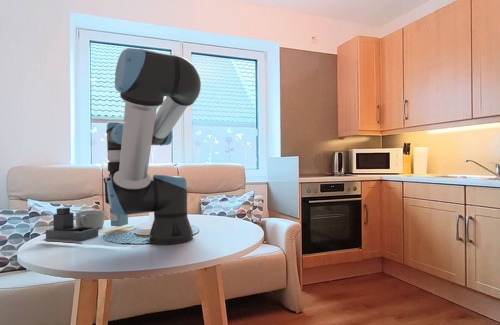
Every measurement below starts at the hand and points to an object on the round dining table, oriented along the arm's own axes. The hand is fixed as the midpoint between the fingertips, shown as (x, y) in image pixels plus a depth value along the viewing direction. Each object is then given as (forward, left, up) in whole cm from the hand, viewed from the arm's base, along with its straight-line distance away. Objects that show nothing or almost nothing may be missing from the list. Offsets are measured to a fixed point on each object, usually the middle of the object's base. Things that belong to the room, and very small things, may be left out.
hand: (119, 219), depth 124 cm
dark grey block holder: (+9, +14, -5) cm, 17 cm away
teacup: (+15, +1, -5) cm, 16 cm away
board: (0, 0, -5) cm, 5 cm away
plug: (0, 0, -2) cm, 2 cm away
